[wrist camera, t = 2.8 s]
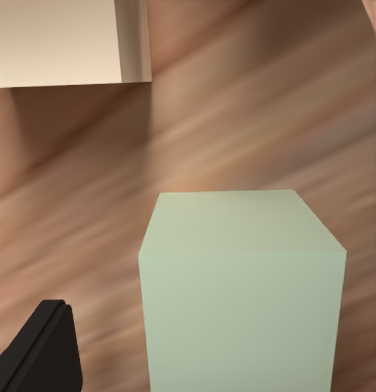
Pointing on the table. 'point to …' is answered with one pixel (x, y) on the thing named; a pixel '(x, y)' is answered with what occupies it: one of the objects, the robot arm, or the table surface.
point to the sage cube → (240, 293)
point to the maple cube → (73, 42)
